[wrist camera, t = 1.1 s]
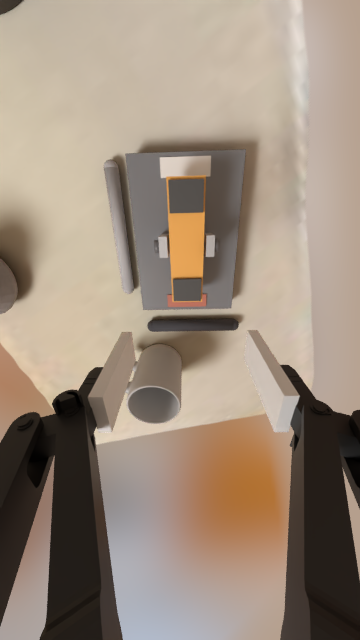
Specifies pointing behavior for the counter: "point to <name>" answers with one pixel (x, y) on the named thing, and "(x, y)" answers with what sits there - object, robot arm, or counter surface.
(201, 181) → the lever
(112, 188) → the grey rod
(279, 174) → the counter surface
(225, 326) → the black rounded bar
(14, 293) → the coffee pot
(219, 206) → the panel
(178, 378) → the mug
